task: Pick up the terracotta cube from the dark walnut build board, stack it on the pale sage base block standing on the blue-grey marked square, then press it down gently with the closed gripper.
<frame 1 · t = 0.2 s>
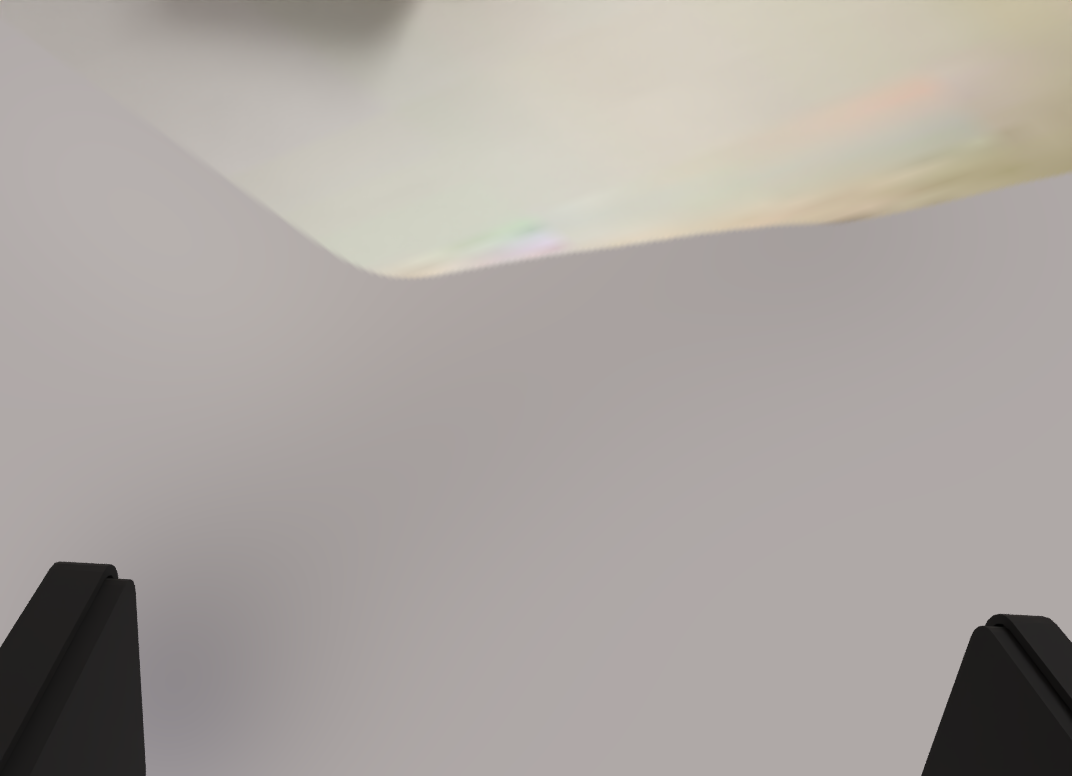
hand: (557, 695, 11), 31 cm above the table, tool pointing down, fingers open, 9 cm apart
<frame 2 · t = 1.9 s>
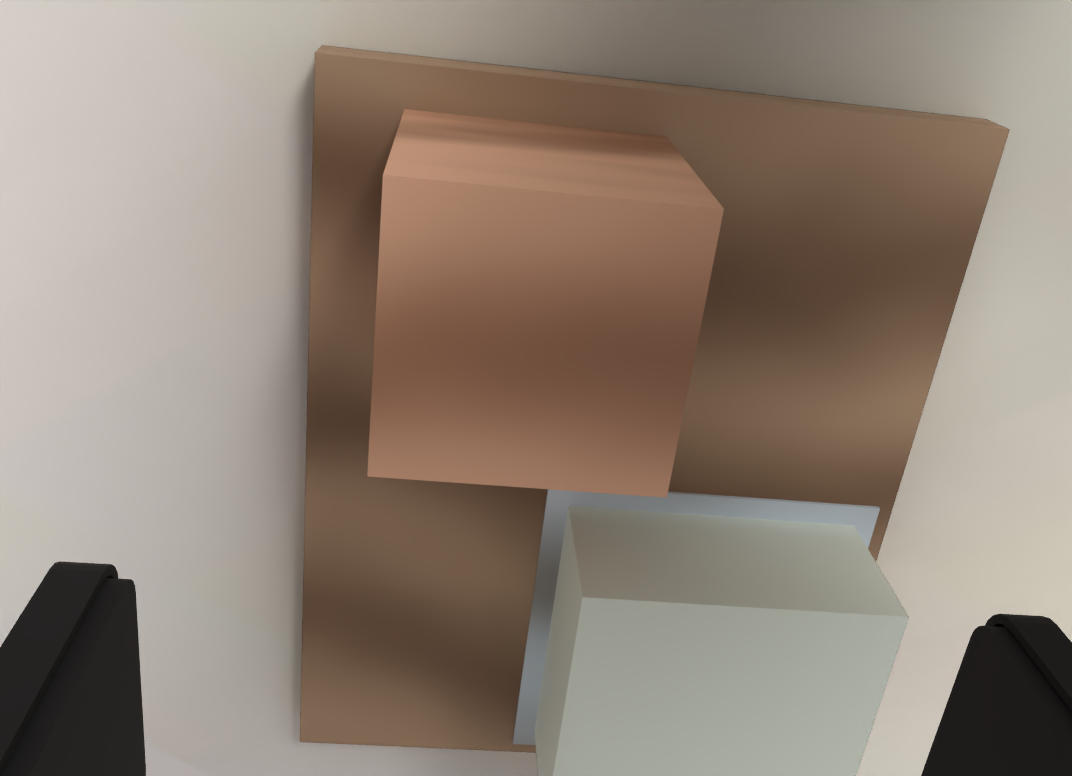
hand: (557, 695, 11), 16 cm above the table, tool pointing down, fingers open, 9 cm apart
top block: (522, 249, 25), point 1 cm above the table, touching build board
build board: (604, 452, 28), on the table
base block: (687, 632, 30), point 1 cm above the table, touching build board
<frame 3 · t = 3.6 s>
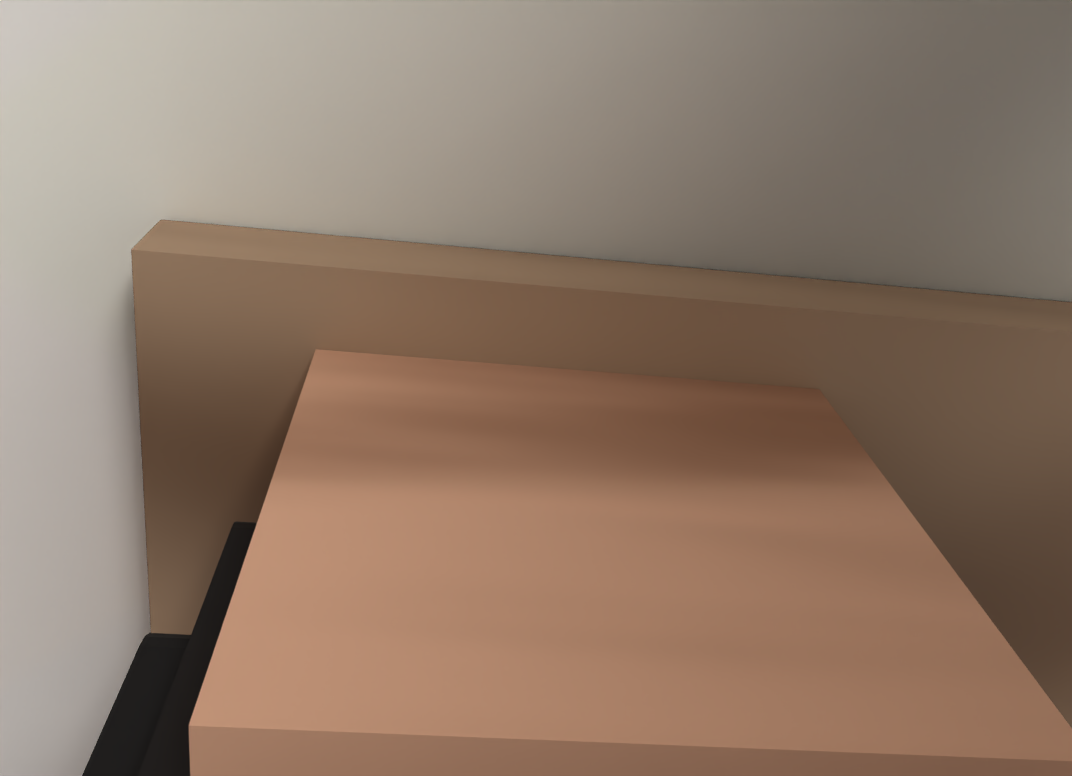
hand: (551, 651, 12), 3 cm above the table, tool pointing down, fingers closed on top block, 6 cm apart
top block: (544, 580, 13), point 1 cm above the table, touching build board, gripper
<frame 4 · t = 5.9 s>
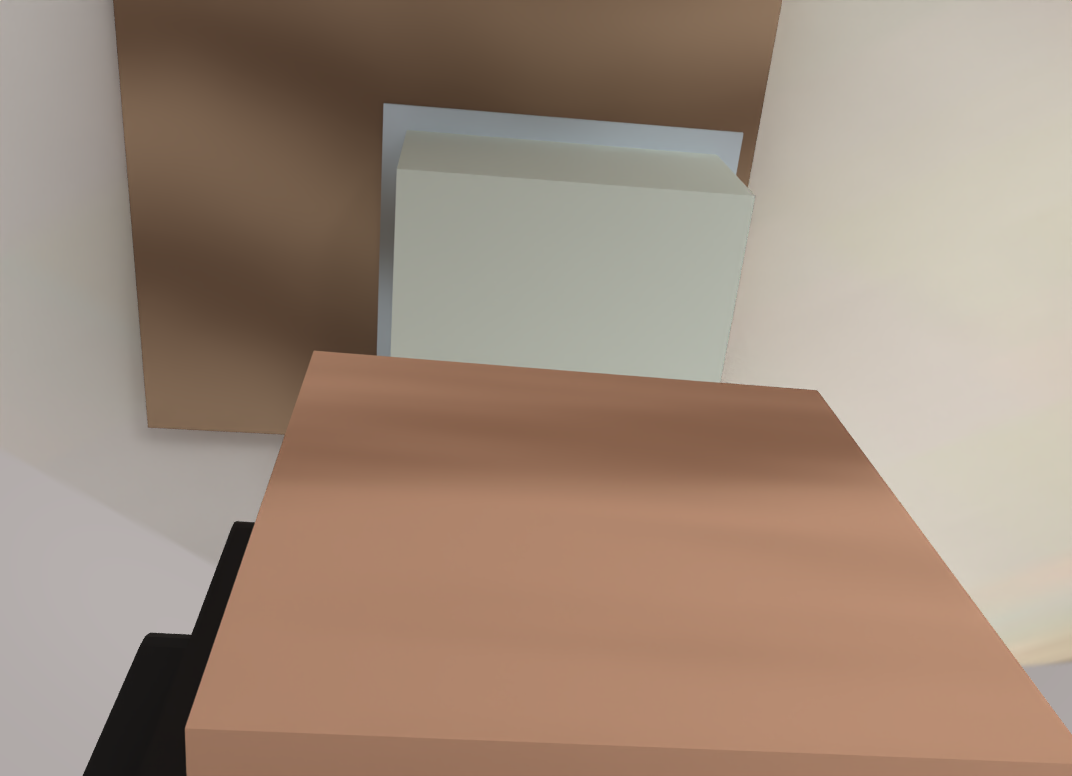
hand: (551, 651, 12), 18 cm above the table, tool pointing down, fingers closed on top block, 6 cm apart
top block: (542, 581, 13), point 17 cm above the table, touching gripper
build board: (449, 83, 27), on the table
base block: (548, 289, 28), point 1 cm above the table, touching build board
when the fingers open (8 cm above the table, at t = 8.4 s): top block drops 1 cm, resting on base block.
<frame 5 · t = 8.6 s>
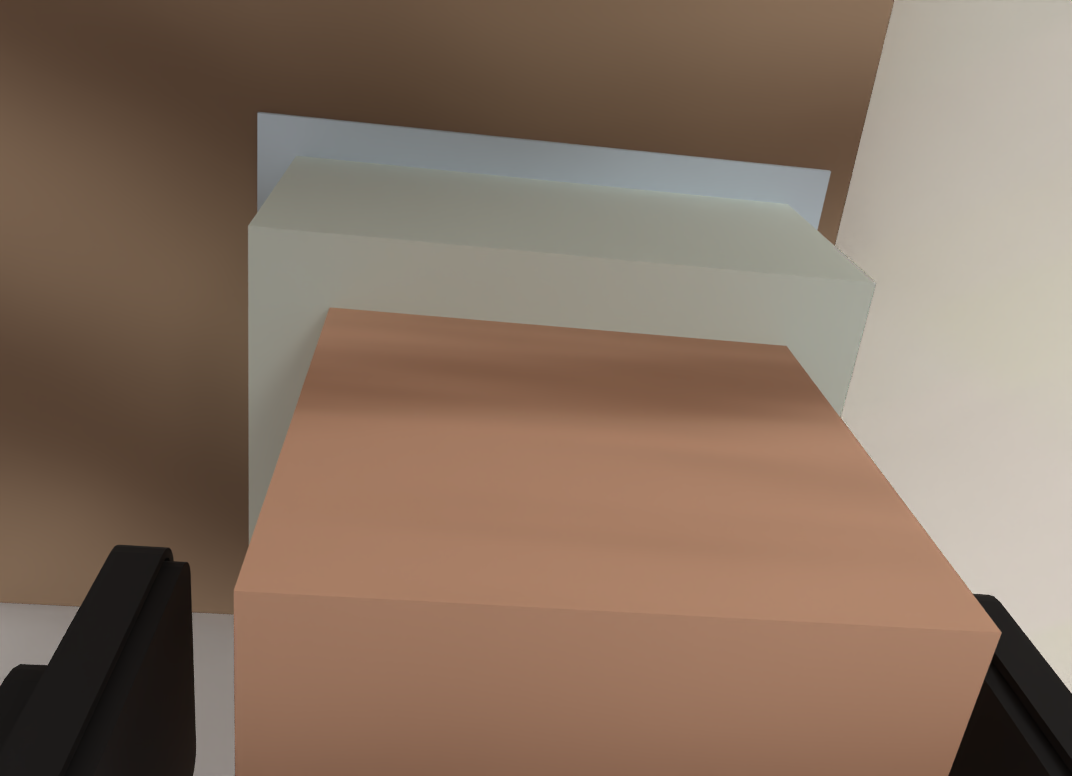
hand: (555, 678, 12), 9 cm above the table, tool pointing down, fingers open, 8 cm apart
top block: (536, 523, 15), point 5 cm above the table, touching base block
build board: (370, 84, 17), on the table
base block: (521, 403, 18), point 1 cm above the table, touching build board, top block
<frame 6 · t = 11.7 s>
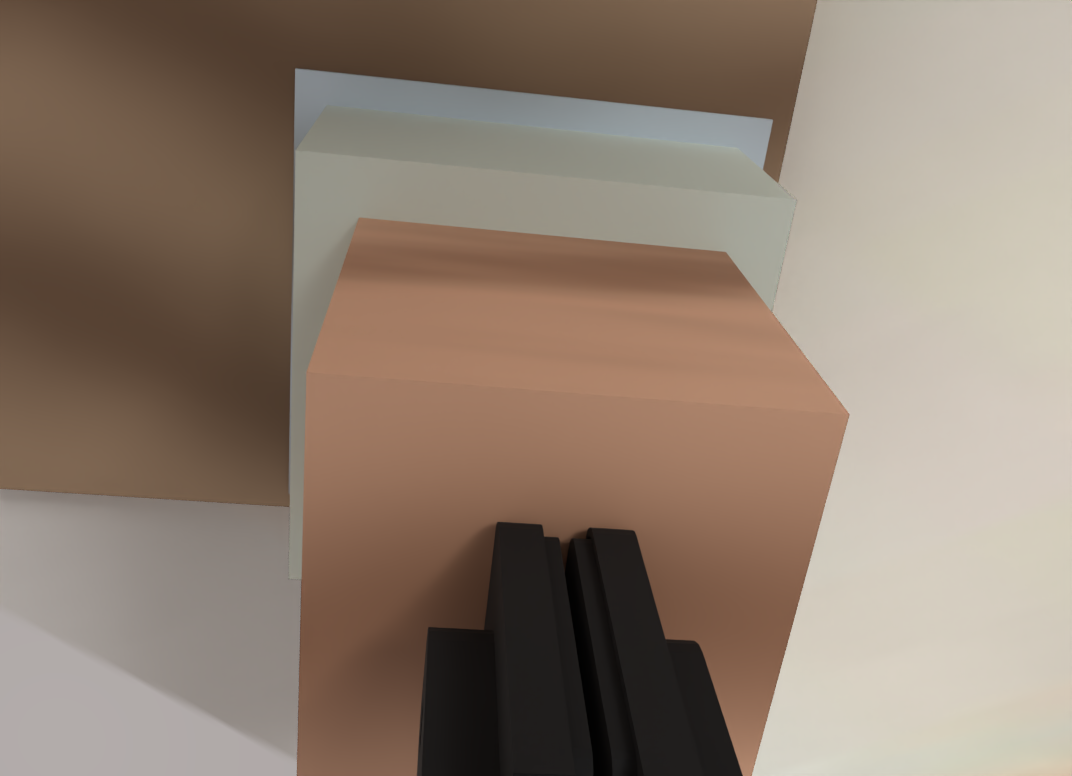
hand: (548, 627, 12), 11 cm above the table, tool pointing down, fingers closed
top block: (525, 401, 18), point 5 cm above the table, touching base block, gripper
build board: (387, 47, 20), on the table
base block: (514, 319, 21), point 1 cm above the table, touching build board, top block
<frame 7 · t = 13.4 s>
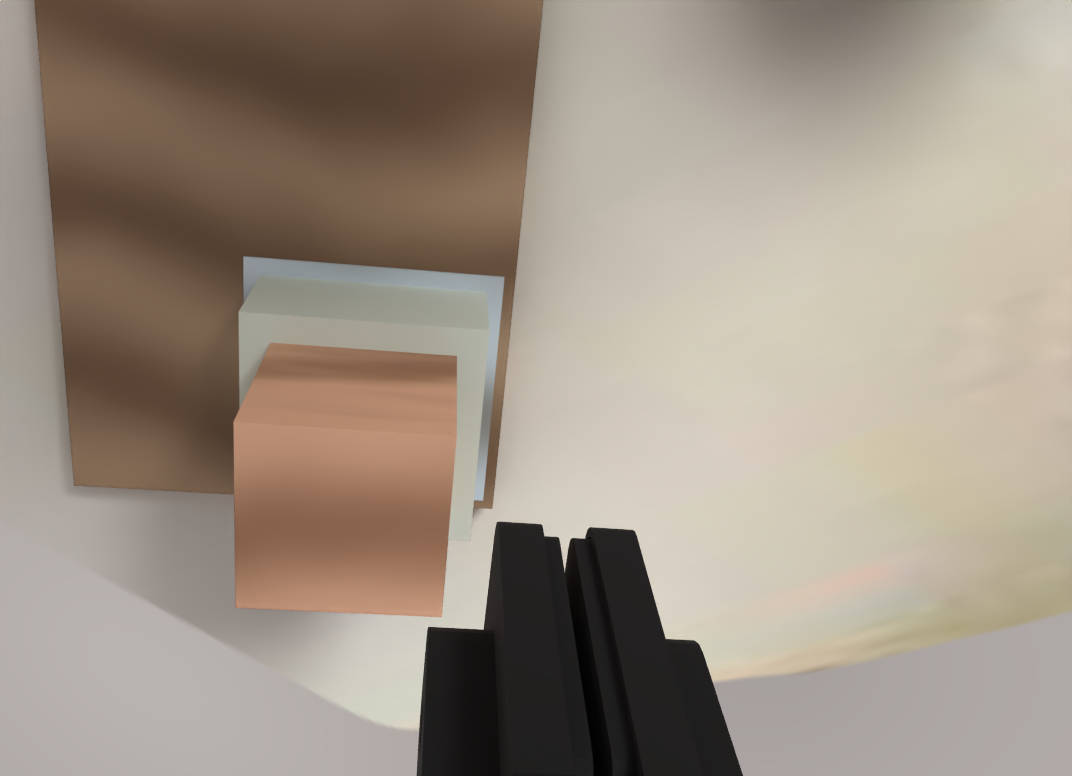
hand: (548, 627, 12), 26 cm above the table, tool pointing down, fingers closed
top block: (361, 432, 34), point 5 cm above the table, touching base block
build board: (295, 239, 37), on the table
base block: (370, 386, 38), point 1 cm above the table, touching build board, top block
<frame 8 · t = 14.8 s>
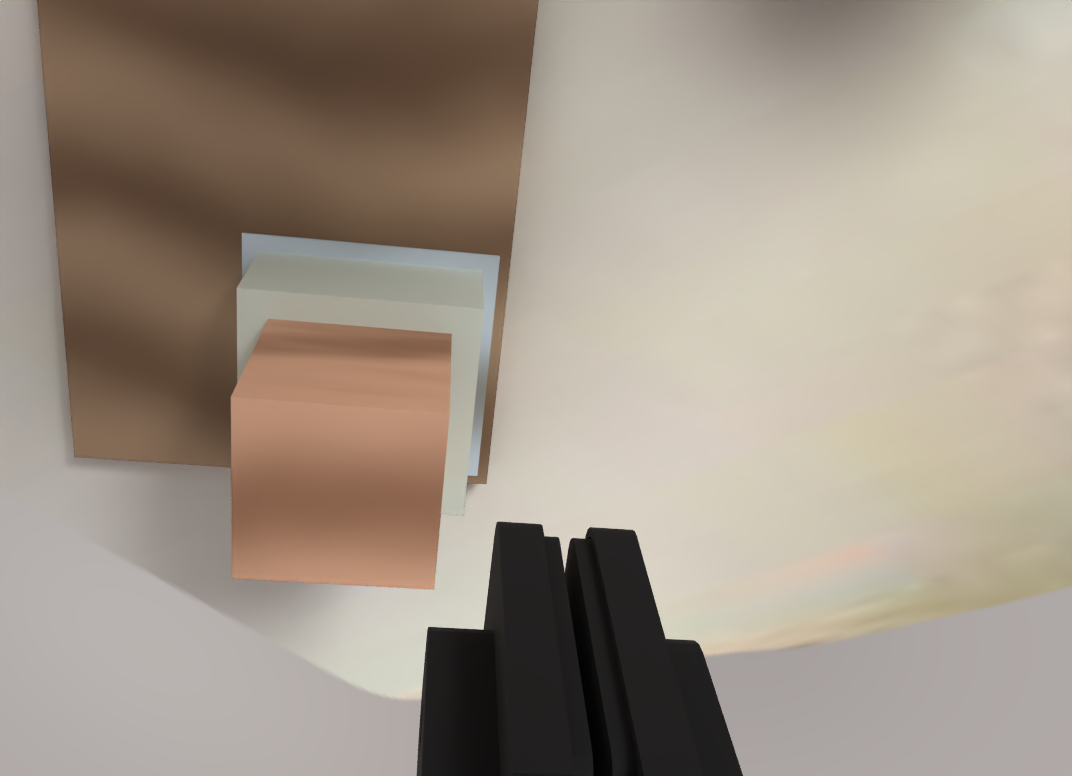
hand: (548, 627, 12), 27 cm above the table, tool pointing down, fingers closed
top block: (357, 407, 35), point 5 cm above the table, touching base block
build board: (293, 216, 37), on the table
base block: (366, 362, 39), point 1 cm above the table, touching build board, top block
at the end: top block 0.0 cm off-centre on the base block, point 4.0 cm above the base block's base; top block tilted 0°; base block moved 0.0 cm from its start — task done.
